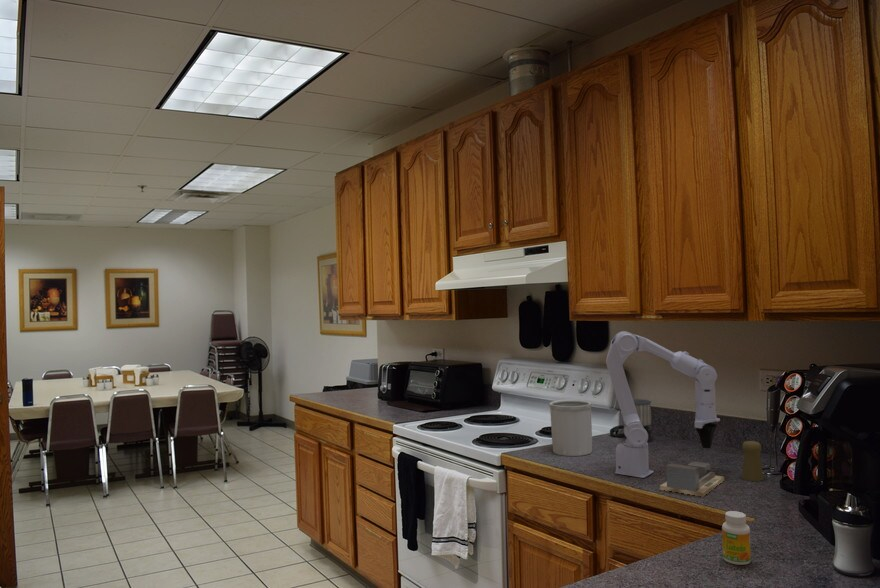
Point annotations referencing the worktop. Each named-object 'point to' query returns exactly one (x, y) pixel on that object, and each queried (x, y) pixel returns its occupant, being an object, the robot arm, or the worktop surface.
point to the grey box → (682, 477)
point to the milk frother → (644, 416)
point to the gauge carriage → (701, 468)
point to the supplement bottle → (736, 538)
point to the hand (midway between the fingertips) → (706, 447)
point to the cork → (752, 461)
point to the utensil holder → (571, 427)
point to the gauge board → (705, 485)
